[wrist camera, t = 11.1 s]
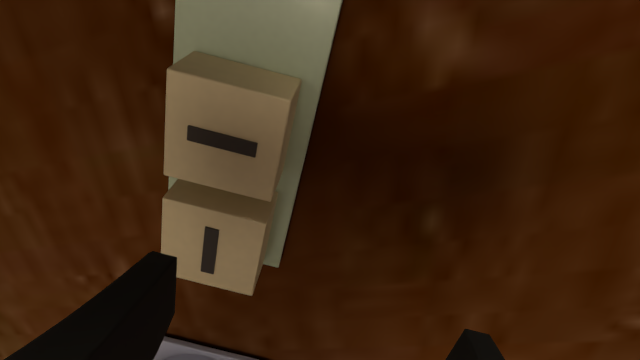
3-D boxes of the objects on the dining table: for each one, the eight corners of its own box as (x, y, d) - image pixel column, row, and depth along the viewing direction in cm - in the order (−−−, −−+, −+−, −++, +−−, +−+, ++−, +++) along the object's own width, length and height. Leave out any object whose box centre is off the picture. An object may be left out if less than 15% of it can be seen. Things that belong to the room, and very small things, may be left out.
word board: (280, 260, 22) (267, 306, 19) (170, 232, 22) (142, 275, 19) (363, -87, 14) (360, -92, 11) (187, -135, 14) (140, -152, 11)
